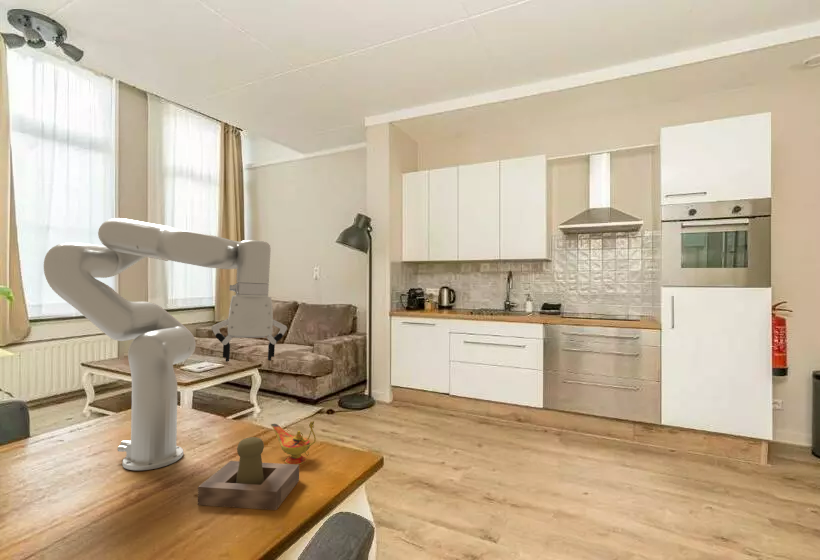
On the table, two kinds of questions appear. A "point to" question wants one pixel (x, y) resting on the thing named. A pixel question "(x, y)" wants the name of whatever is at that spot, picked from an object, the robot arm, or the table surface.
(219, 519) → the table surface
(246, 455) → the cork
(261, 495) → the shaker holder
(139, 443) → the robot arm
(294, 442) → the magic lamp
